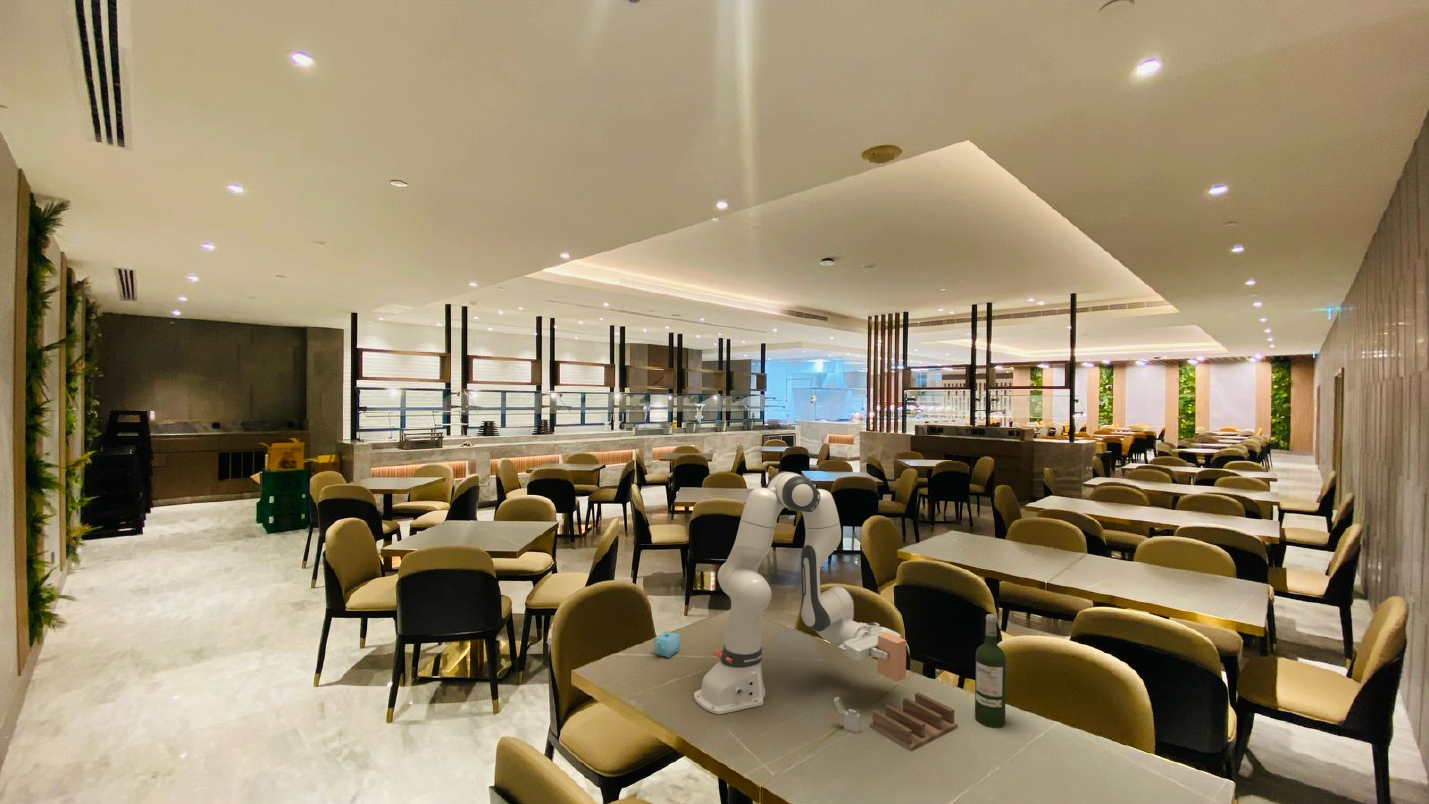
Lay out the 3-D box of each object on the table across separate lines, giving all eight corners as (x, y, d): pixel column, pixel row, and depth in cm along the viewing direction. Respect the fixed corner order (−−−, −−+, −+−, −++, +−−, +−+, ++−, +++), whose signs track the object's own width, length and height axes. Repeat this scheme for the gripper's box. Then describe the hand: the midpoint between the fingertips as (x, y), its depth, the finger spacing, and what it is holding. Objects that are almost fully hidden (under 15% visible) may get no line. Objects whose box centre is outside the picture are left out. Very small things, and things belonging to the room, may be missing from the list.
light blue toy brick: (664, 663, 209) (664, 641, 209) (649, 659, 212) (649, 638, 212) (681, 650, 220) (681, 629, 219) (667, 647, 222) (667, 626, 222)
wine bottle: (975, 724, 171) (977, 618, 171) (974, 711, 179) (975, 609, 178) (1006, 730, 168) (1008, 622, 168) (1003, 716, 176) (1005, 612, 176)
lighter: (860, 729, 168) (860, 700, 168) (858, 732, 167) (859, 703, 167) (834, 723, 171) (834, 695, 171) (833, 726, 170) (833, 698, 170)
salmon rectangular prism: (896, 681, 174) (897, 643, 174) (877, 672, 180) (877, 635, 180) (905, 677, 177) (906, 640, 176) (886, 668, 182) (886, 632, 182)
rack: (911, 750, 158) (911, 733, 158) (869, 726, 170) (869, 710, 170) (957, 727, 170) (957, 711, 170) (915, 706, 181) (915, 691, 181)
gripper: (834, 635, 183) (870, 651, 171) (879, 621, 195) (915, 635, 183) (834, 656, 183) (870, 674, 172) (878, 641, 195) (915, 656, 183)
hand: (894, 654), depth 177 cm, fingers closed on salmon rectangular prism, 4 cm apart
